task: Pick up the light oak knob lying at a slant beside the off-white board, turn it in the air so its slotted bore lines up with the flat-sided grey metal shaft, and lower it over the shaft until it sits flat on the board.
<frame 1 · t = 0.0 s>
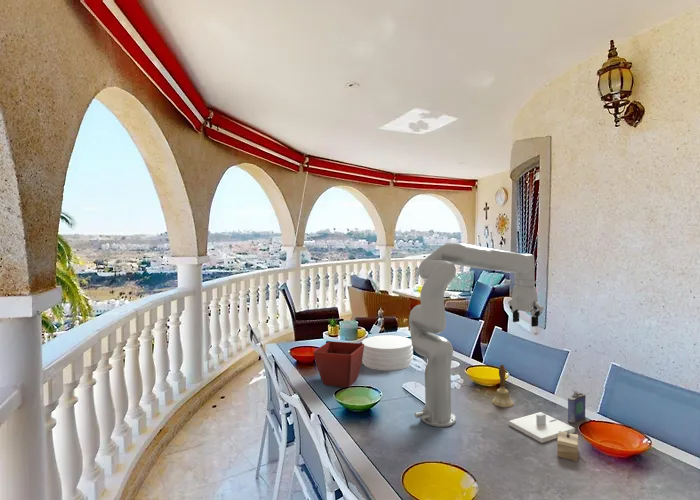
hand: (525, 323, 166), 31 cm above the table, tool pointing down, fingers open, 9 cm apart
flask: (576, 420, 147), on the table
plant pot: (340, 382, 190), on the table
hand bell: (502, 403, 162), on the table
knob: (567, 453, 124), on the table
plate stack: (387, 362, 219), on the table
shaft board: (541, 428, 141), on the table
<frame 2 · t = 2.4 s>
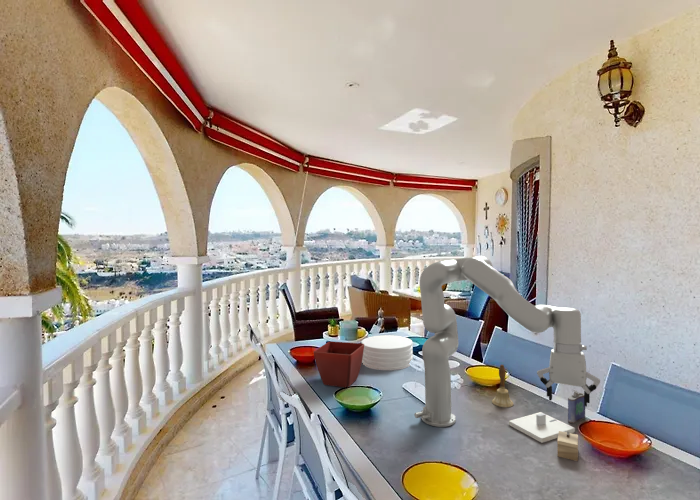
hand: (567, 401, 124), 16 cm above the table, tool pointing down, fingers open, 9 cm apart
nothing on the table moved.
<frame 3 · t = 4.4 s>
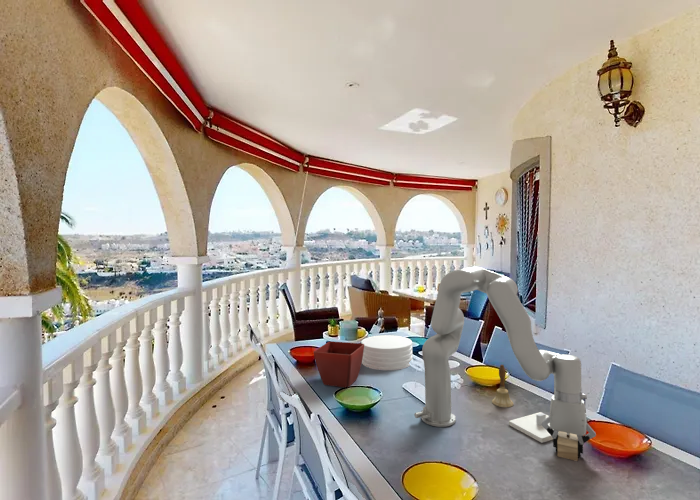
hand: (567, 451, 124), 1 cm above the table, tool pointing down, fingers closed on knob, 5 cm apart
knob: (567, 453, 124), on the table, touching gripper
everything else where it was.
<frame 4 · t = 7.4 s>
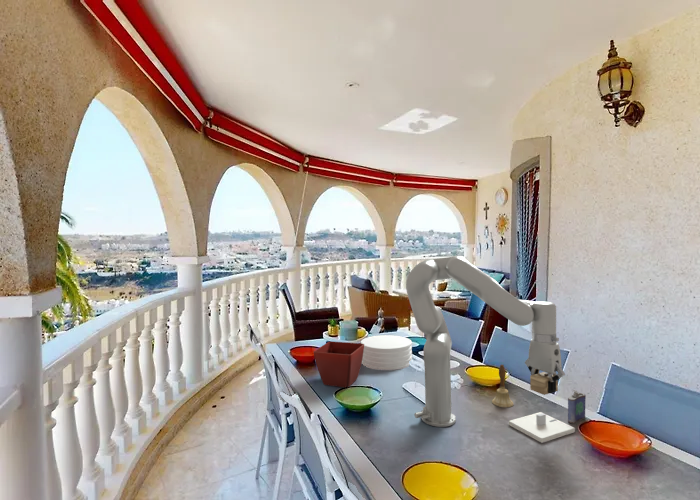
hand: (543, 388, 138), 15 cm above the table, tool pointing down, fingers closed on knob, 5 cm apart
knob: (544, 390, 138), point 15 cm above the table, touching gripper
everything else where it was.
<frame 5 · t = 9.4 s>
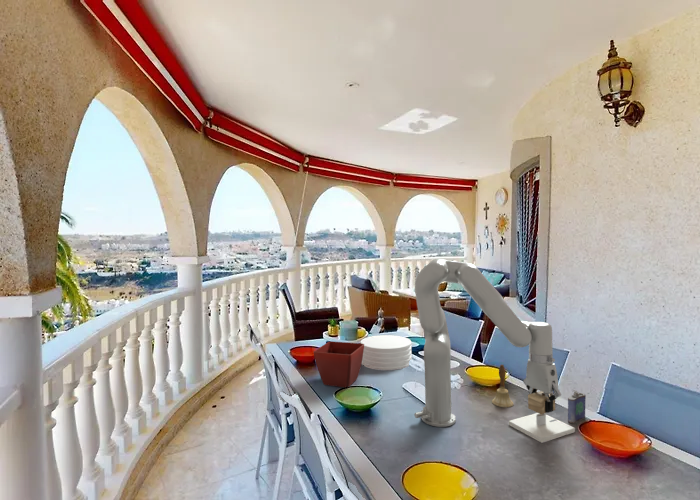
hand: (541, 407, 140), 7 cm above the table, tool pointing down, fingers closed on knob, 5 cm apart
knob: (541, 409, 140), point 7 cm above the table, touching gripper
everything else where it was.
when the fingers open (3 cm above the table, at t = 10.7 s): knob stays where it is, resting on shaft board.
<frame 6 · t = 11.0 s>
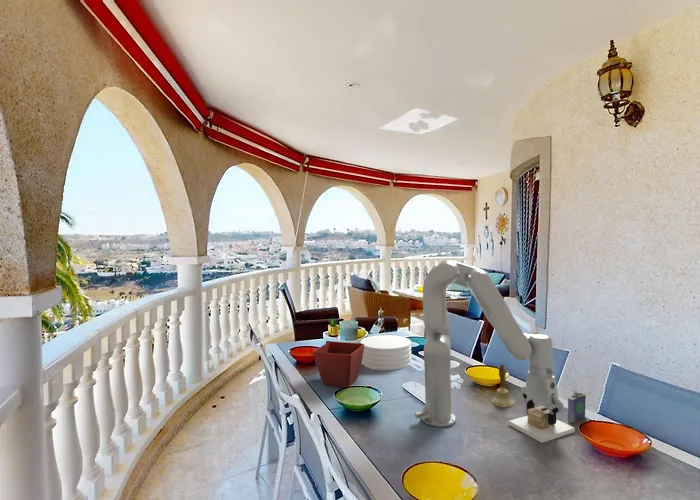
hand: (541, 418, 140), 4 cm above the table, tool pointing down, fingers open, 8 cm apart
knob: (541, 424, 141), point 1 cm above the table, touching shaft board
everything else where it was.
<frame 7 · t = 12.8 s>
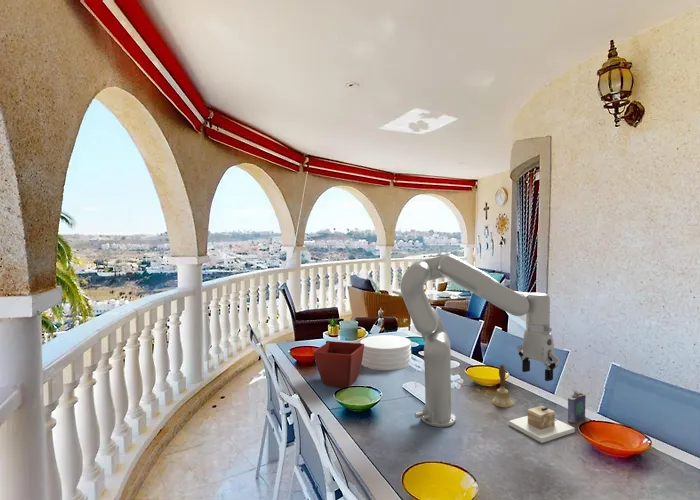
hand: (537, 375, 141), 19 cm above the table, tool pointing down, fingers open, 9 cm apart
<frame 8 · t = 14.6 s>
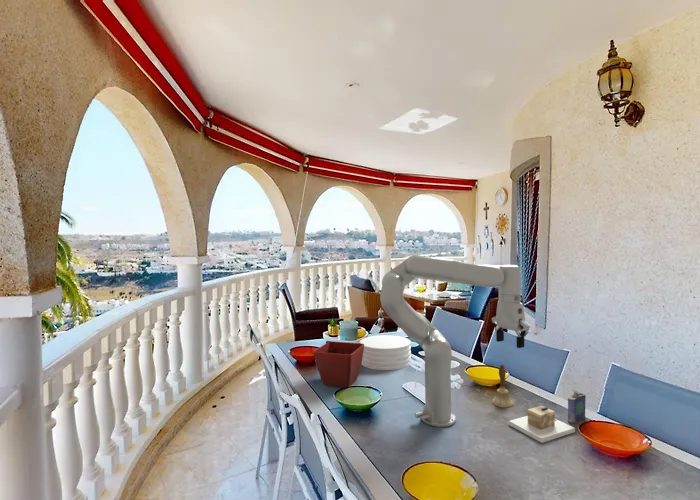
hand: (510, 344, 147), 28 cm above the table, tool pointing down, fingers open, 9 cm apart
at the end: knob 0.0 cm off-centre on the shaft board, point 1.5 cm above the shaft board's base; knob tilted 0°; the gripper is holding nothing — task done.
